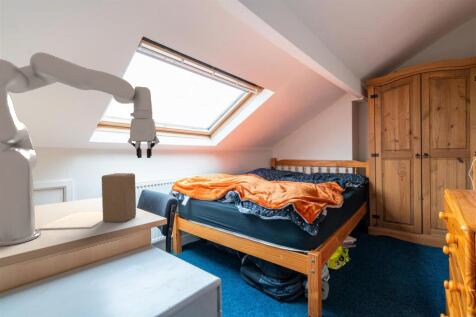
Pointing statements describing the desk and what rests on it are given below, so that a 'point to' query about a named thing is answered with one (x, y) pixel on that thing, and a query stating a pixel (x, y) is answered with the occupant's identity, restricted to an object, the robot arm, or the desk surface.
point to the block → (118, 197)
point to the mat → (76, 221)
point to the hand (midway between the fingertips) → (144, 157)
